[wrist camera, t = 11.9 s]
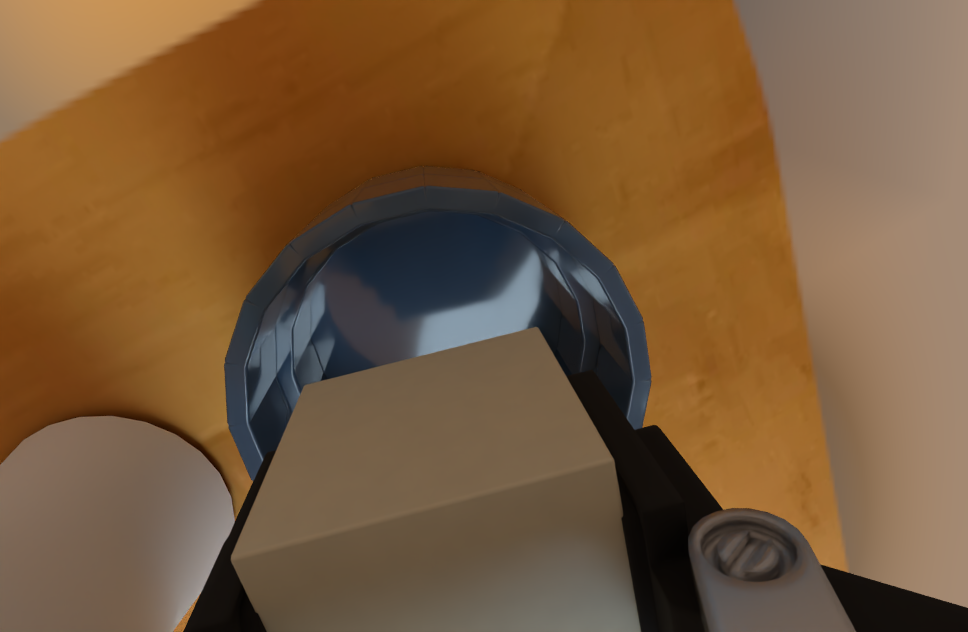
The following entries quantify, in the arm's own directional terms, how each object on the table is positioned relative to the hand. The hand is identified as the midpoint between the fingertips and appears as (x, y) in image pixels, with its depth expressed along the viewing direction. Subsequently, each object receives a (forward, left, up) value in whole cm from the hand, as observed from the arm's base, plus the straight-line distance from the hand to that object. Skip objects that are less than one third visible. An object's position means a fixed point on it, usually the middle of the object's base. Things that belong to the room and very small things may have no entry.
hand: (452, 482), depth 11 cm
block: (0, 0, -1) cm, 1 cm away
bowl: (0, 0, -9) cm, 9 cm away
